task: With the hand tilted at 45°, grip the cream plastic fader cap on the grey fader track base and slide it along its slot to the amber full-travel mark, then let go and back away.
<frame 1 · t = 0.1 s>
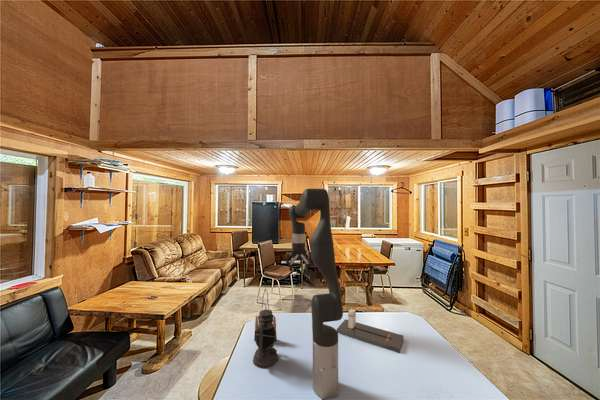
hand: (298, 270, 128), 29 cm above the table, tool pointing down, fingers open, 8 cm apart
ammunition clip: (265, 340, 112), on the table
grey fader track base: (369, 336, 116), on the table
lantern: (265, 359, 98), on the table
fader cap: (351, 318, 121), point 6 cm above the table, slide at 0.0 cm
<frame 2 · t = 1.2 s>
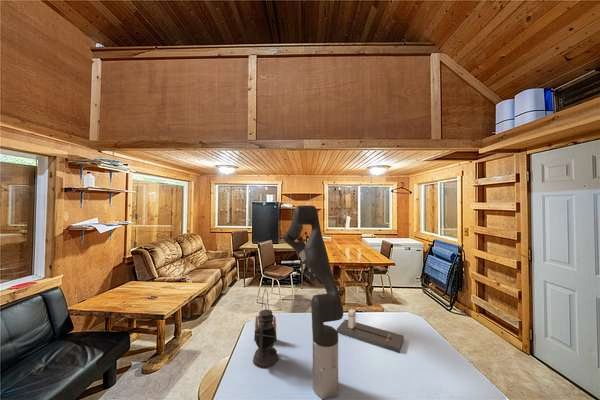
hand: (326, 281, 125), 24 cm above the table, tool tilted 45°, fingers open, 8 cm apart
nothing on the table moved.
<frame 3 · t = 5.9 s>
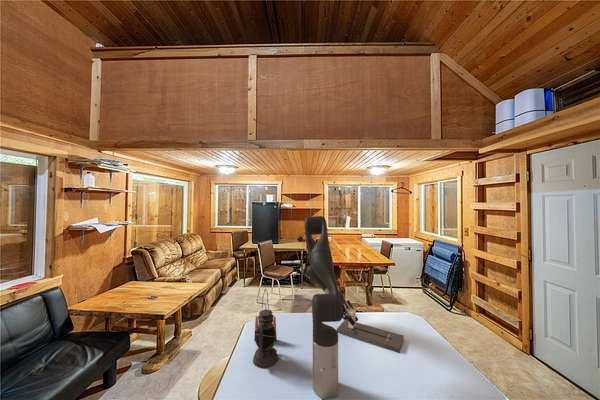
hand: (355, 322, 120), 5 cm above the table, tool tilted 45°, fingers closed on fader cap, 4 cm apart
fader cap: (352, 318, 121), point 6 cm above the table, slide at 0.0 cm, touching gripper
everything else where it was.
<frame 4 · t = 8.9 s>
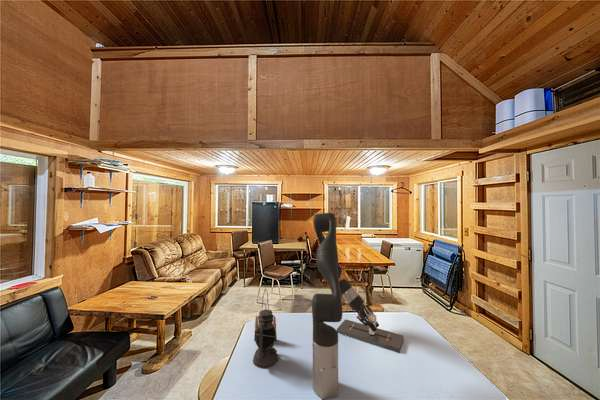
hand: (376, 328, 114), 5 cm above the table, tool tilted 45°, fingers closed on fader cap, 4 cm apart
fader cap: (372, 324, 115), point 6 cm above the table, slide at 10.7 cm, touching gripper
everything else where it was.
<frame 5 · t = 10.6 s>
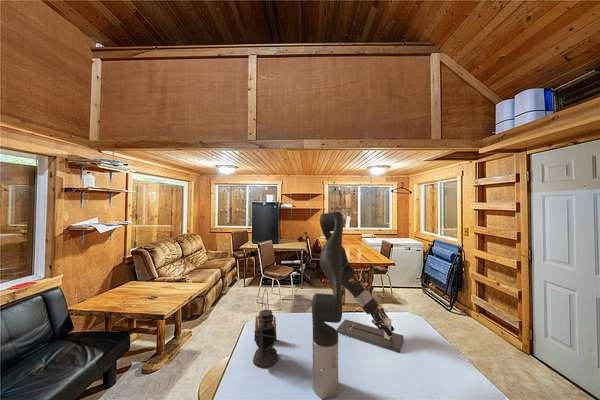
hand: (392, 332, 110), 5 cm above the table, tool tilted 45°, fingers closed on fader cap, 4 cm apart
fader cap: (387, 328, 111), point 6 cm above the table, slide at 17.9 cm, touching gripper
everything else where it was.
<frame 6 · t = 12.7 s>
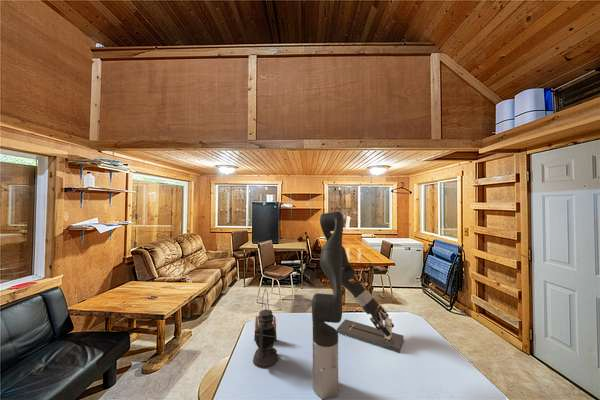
hand: (390, 331, 110), 6 cm above the table, tool tilted 45°, fingers open, 8 cm apart
fader cap: (388, 328, 111), point 6 cm above the table, slide at 18.0 cm
everything else where it was.
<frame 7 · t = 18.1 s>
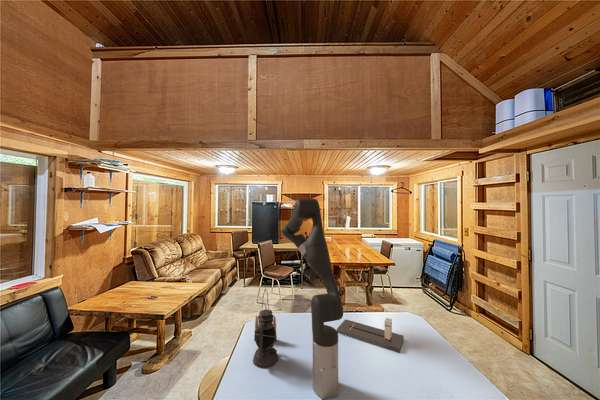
hand: (327, 275, 121), 29 cm above the table, tool tilted 45°, fingers open, 8 cm apart
nothing on the table moved.
at the end: fader cap slide at 18.0 cm; the gripper is holding nothing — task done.
